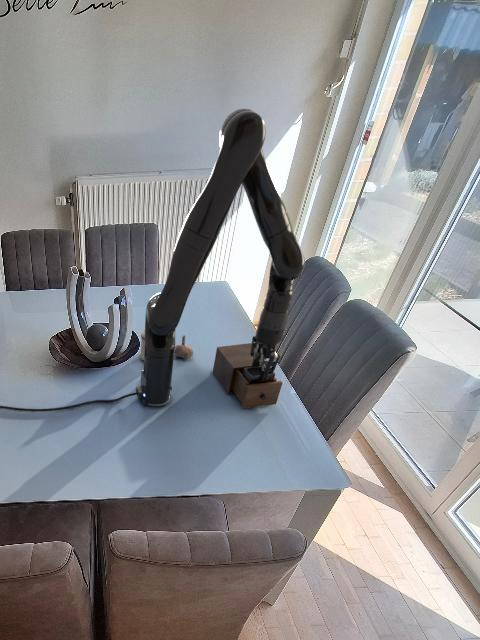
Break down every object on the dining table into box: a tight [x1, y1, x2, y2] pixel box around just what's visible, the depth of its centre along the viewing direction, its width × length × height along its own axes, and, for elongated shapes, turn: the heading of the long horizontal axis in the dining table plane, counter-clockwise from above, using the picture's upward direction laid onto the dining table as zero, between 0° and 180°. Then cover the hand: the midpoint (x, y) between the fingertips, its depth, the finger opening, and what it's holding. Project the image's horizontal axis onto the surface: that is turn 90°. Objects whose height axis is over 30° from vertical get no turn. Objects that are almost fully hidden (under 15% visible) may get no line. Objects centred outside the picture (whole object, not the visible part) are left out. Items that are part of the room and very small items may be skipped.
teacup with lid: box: [140, 329, 145, 361], centre depth 168 cm, size 12×9×12 cm
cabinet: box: [212, 342, 268, 395], centre depth 156 cm, size 15×13×10 cm
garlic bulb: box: [174, 334, 194, 360], centre depth 169 cm, size 8×7×8 cm
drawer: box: [231, 369, 283, 409], centre depth 148 cm, size 15×11×8 cm
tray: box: [243, 365, 276, 384], centre depth 144 cm, size 8×6×2 cm
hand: (258, 376), depth 145 cm, fingers closed on tray, 5 cm apart
